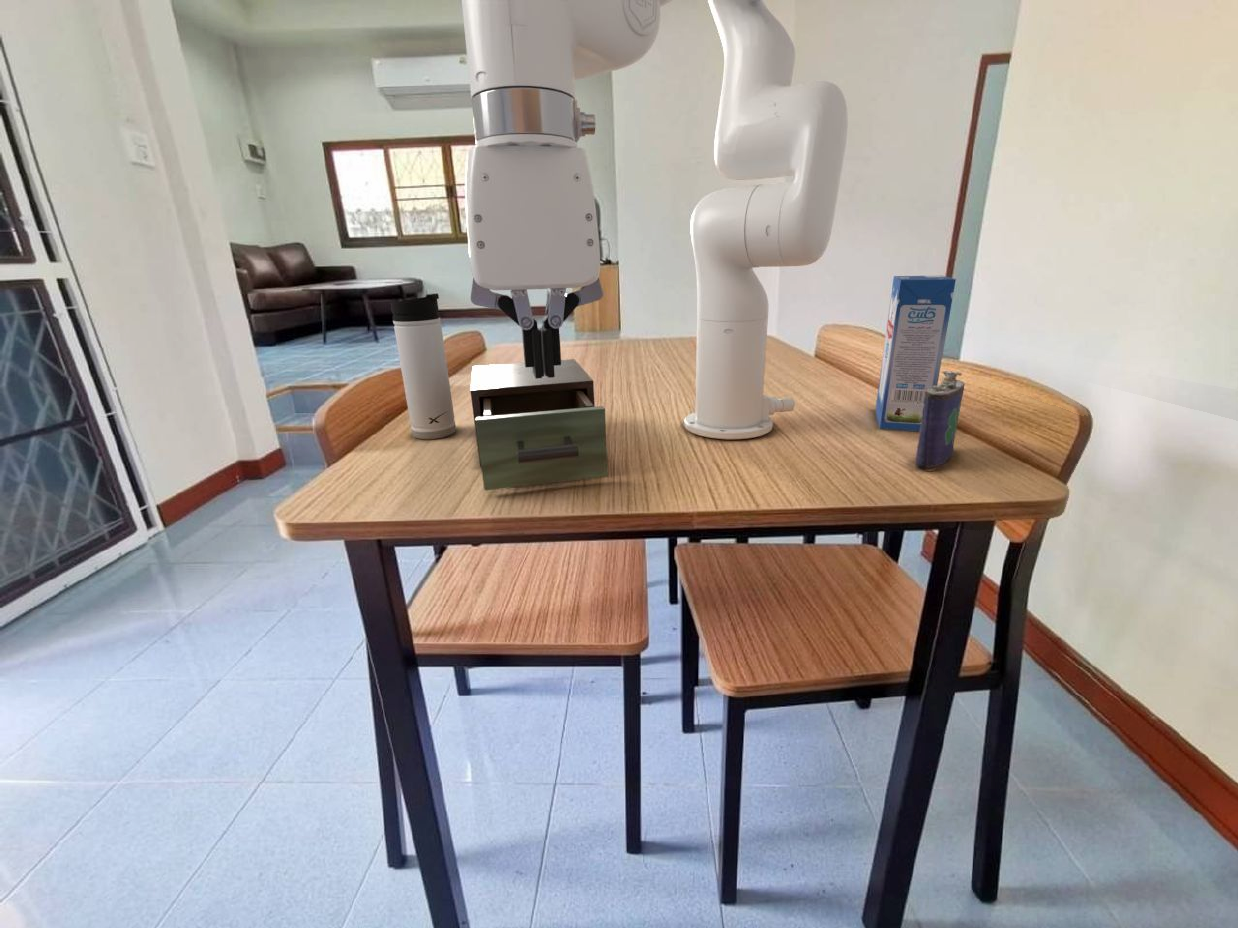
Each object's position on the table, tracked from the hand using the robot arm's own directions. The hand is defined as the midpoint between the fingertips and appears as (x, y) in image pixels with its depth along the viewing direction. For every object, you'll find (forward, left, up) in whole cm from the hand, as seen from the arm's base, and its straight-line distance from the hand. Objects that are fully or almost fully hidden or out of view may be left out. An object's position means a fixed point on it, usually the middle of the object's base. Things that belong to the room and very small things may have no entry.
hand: (543, 374), depth 48 cm
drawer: (0, -14, -14) cm, 20 cm away
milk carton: (-53, -20, -15) cm, 59 cm away
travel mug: (+14, -36, -15) cm, 42 cm away
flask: (-46, -5, -15) cm, 49 cm away
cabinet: (0, -27, -15) cm, 31 cm away
